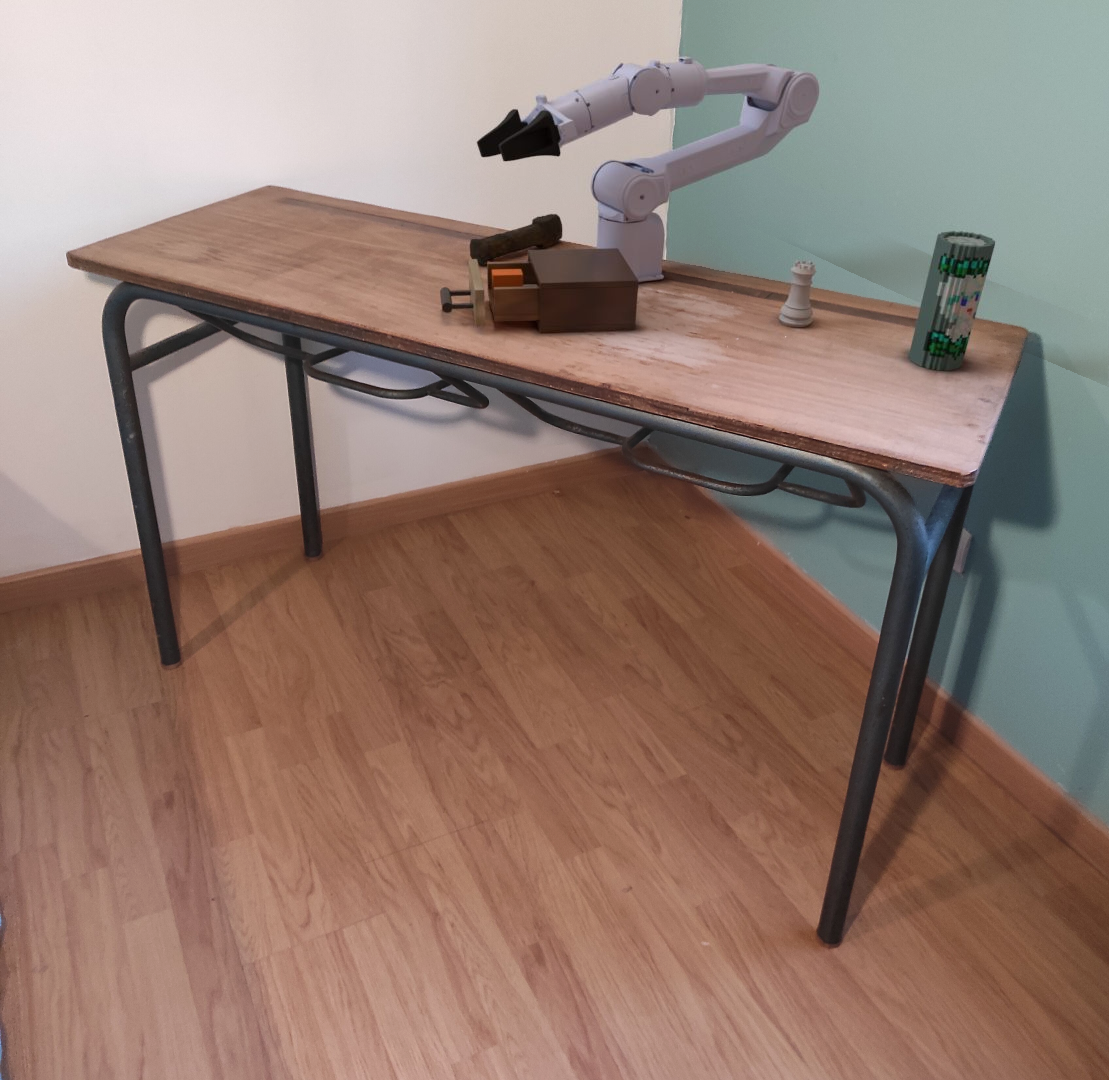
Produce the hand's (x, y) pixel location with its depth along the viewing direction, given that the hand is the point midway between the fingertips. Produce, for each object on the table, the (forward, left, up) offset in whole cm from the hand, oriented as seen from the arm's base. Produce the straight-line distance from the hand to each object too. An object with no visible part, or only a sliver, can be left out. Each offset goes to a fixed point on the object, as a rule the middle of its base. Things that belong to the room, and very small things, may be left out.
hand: (490, 151), depth 125 cm
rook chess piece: (-35, +23, -19) cm, 46 cm away
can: (-44, +40, -19) cm, 63 cm away
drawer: (+2, +8, -18) cm, 20 cm away
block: (-1, +6, -17) cm, 18 cm away
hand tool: (-11, -18, -19) cm, 28 cm away
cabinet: (-9, +10, -19) cm, 24 cm away
